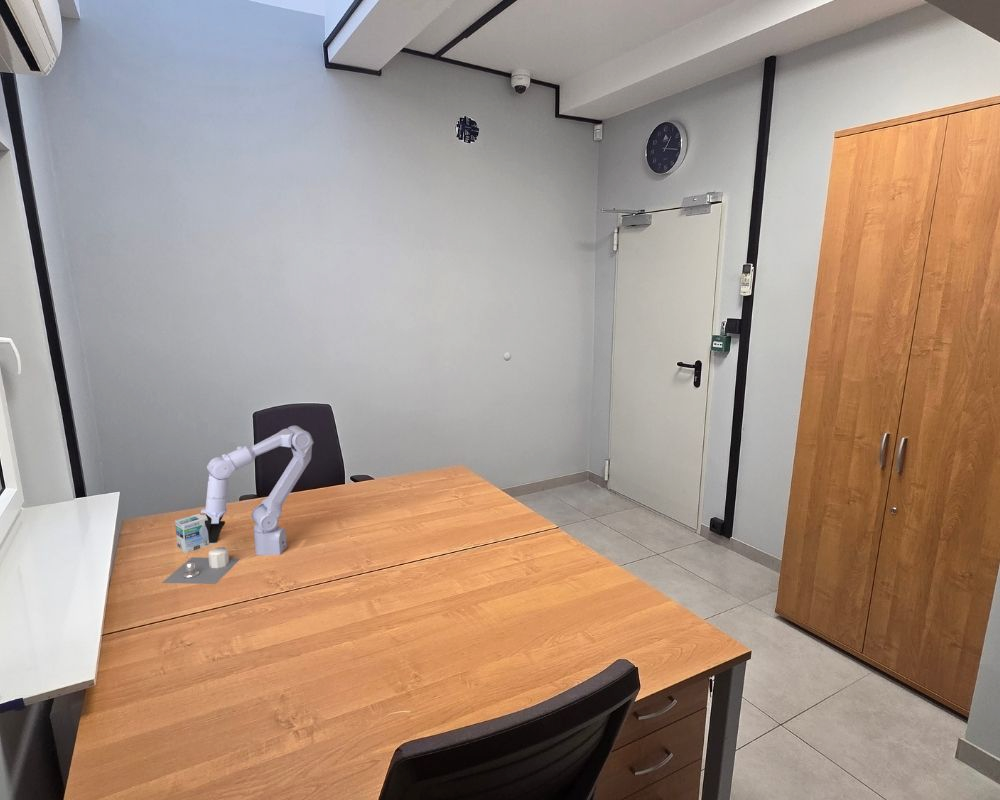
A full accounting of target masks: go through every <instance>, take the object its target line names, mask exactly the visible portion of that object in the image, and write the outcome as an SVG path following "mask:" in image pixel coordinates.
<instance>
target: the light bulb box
mask: <svg viewBox="0 0 1000 800" xmlns="http://www.w3.org/2000/svg"><path fill="white" fill-rule="evenodd" d="M205 520H208V519H207V516H206V514H205V513H201V512H200V513H196V514H193V515H190V516H186V517H183V518H180V519H176V520H174V522H175V523H174V524H175V535H176V537H175V538H176V545H177V546H176V547H177V549H178V550H180V551H181V552H183V553H184V554H187V553H191V552H193V551H198V550H200V549H203V548H205V547H209V546H211V545H214V544H215V545H216V543H209V539H208V531H207V528H206V526H205Z"/></svg>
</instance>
